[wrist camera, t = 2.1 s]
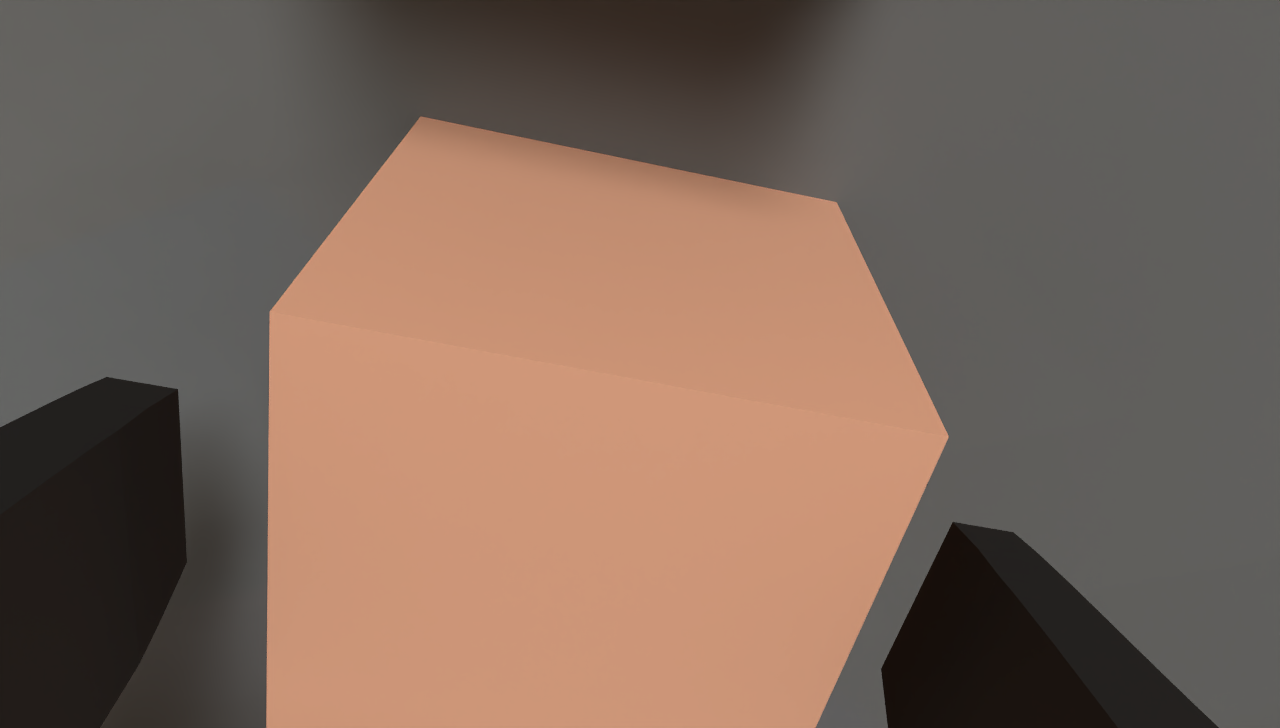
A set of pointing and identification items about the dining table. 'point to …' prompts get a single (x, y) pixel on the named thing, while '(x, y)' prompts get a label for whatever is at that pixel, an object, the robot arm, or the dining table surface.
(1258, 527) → the dining table surface
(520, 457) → the terracotta block
